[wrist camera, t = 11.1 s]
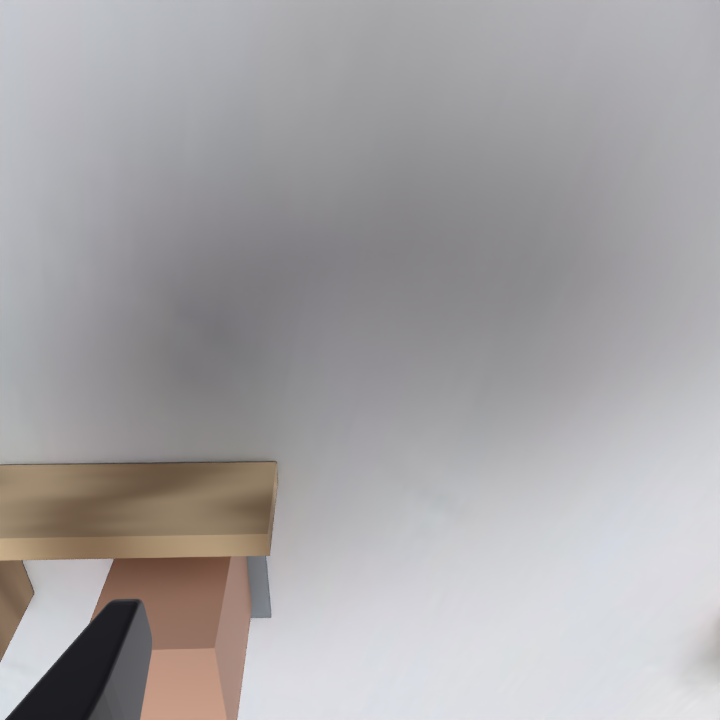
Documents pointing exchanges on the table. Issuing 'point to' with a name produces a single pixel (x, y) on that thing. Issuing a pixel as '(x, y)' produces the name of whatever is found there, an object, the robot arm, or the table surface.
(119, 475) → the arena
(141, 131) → the table surface
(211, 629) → the terracotta block
